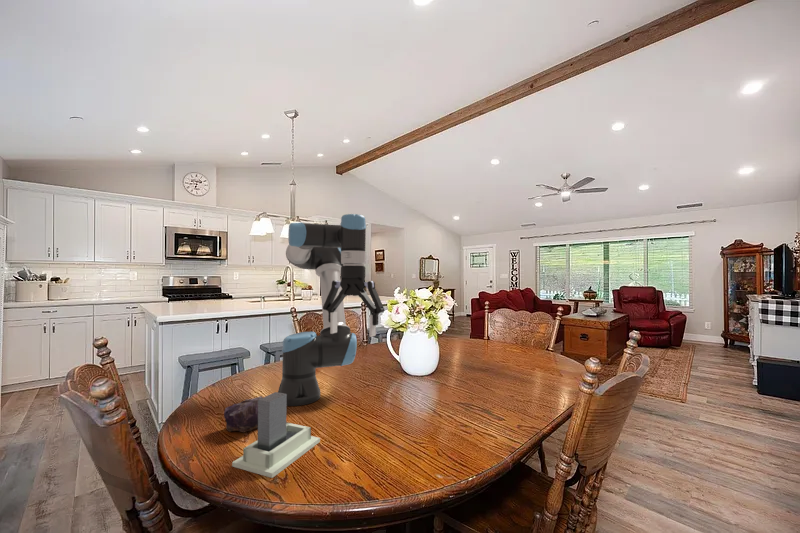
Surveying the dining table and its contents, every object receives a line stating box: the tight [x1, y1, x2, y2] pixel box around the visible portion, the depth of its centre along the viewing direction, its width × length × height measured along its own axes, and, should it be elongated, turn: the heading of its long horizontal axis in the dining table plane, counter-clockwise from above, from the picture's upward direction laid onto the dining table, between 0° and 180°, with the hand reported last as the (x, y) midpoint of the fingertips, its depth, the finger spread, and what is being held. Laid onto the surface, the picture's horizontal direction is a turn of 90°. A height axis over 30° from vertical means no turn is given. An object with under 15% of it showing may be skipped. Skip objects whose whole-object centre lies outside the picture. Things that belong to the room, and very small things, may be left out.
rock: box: [223, 395, 264, 433], centre depth 102 cm, size 12×9×10 cm
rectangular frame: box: [231, 422, 321, 479], centre depth 88 cm, size 12×18×4 cm, turn 158°
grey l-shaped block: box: [257, 391, 297, 452], centre depth 88 cm, size 4×11×14 cm, turn 158°
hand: (352, 334), depth 107 cm, fingers open, 13 cm apart
